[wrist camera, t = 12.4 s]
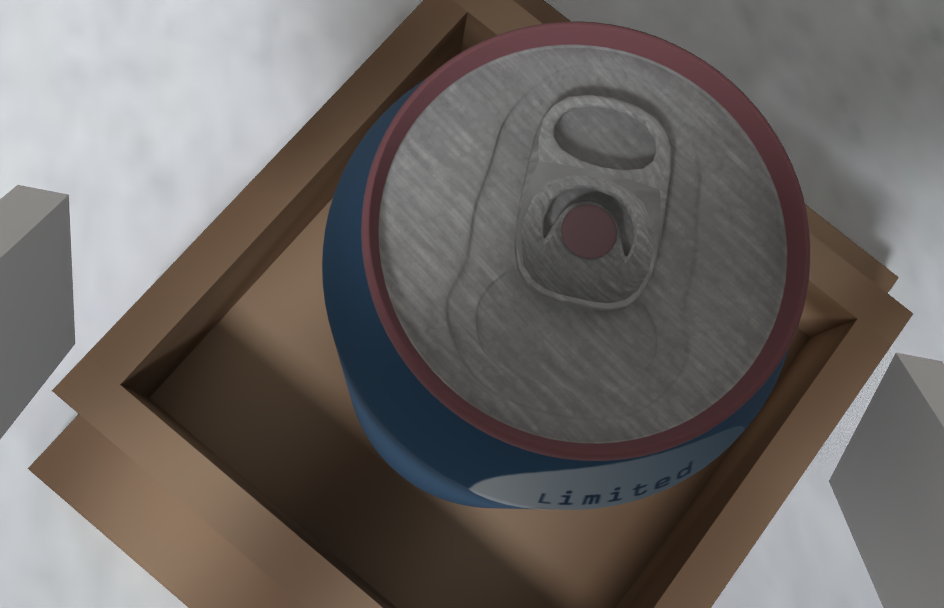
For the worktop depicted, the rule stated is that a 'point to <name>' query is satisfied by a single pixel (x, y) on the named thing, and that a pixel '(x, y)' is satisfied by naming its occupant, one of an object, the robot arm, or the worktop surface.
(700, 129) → the soda can
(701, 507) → the wooden tray
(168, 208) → the worktop surface
